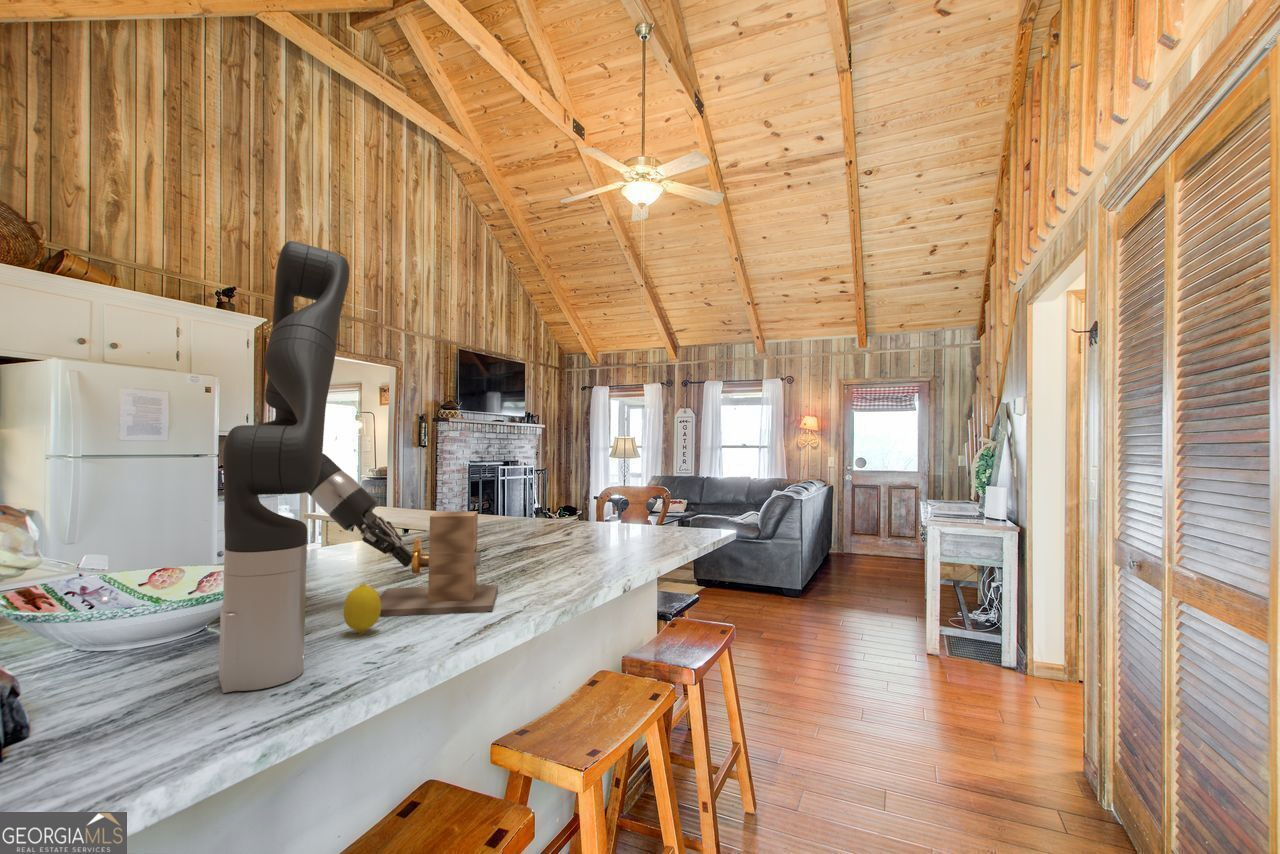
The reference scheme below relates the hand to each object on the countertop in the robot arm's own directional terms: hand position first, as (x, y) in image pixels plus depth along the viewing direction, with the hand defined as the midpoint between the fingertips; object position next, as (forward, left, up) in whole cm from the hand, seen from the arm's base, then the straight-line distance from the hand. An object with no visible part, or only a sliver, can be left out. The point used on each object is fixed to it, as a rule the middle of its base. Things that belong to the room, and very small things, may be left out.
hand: (410, 562), depth 113 cm
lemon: (-12, -13, -8) cm, 19 cm away
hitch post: (+4, -2, -8) cm, 9 cm away
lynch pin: (+6, -3, -2) cm, 7 cm away
